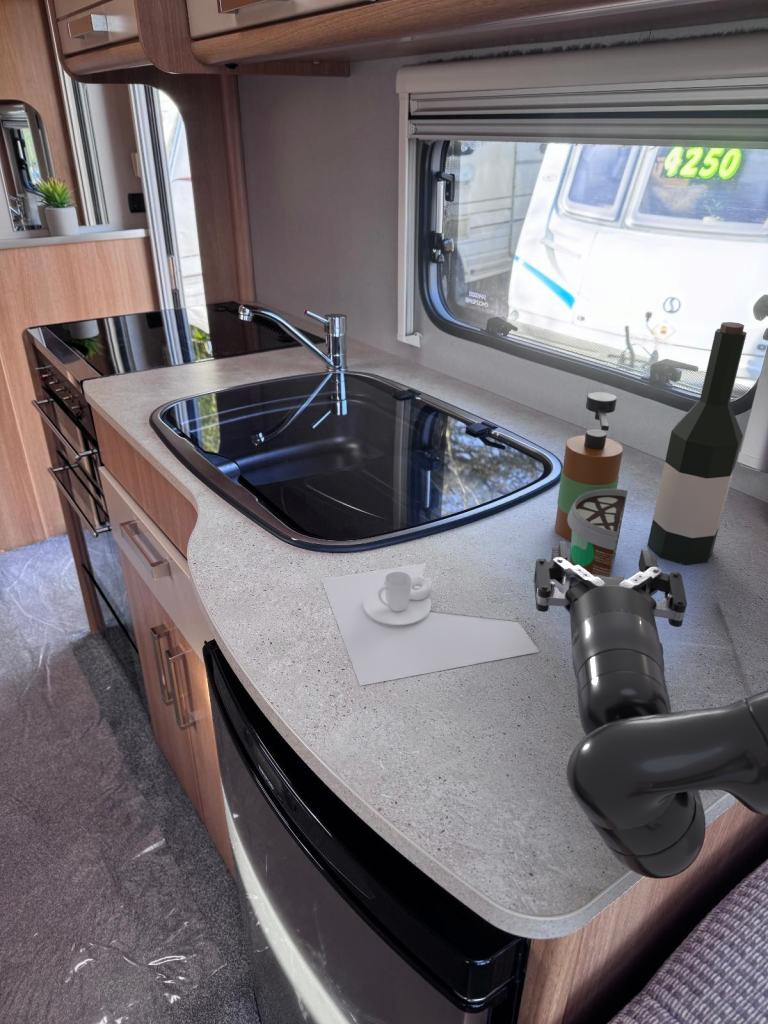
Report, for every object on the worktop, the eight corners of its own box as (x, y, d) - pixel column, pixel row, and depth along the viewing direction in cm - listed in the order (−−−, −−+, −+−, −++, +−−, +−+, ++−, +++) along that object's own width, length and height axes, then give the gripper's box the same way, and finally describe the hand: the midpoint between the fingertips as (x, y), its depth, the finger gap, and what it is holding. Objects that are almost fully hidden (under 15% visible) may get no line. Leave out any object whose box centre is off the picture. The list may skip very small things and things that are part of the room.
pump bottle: (606, 521, 103) (623, 424, 96) (610, 547, 97) (629, 446, 90) (553, 516, 104) (566, 420, 97) (554, 542, 98) (568, 441, 91)
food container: (568, 547, 97) (578, 480, 92) (615, 556, 95) (628, 488, 90) (550, 596, 87) (561, 524, 82) (603, 608, 85) (617, 534, 80)
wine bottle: (705, 536, 100) (761, 317, 85) (719, 569, 92) (782, 336, 78) (643, 530, 101) (687, 314, 87) (651, 562, 94) (701, 332, 79)
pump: (611, 414, 94) (615, 392, 93) (618, 442, 86) (622, 419, 84) (583, 412, 95) (586, 390, 93) (587, 440, 86) (591, 416, 85)
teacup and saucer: (425, 582, 89) (426, 554, 87) (447, 620, 83) (448, 591, 81) (356, 593, 87) (355, 565, 85) (373, 633, 80) (373, 603, 78)
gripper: (529, 670, 67) (531, 574, 81) (691, 690, 65) (664, 588, 78) (538, 603, 63) (538, 515, 77) (709, 623, 61) (678, 528, 75)
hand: (602, 552), depth 78 cm, fingers open, 8 cm apart
